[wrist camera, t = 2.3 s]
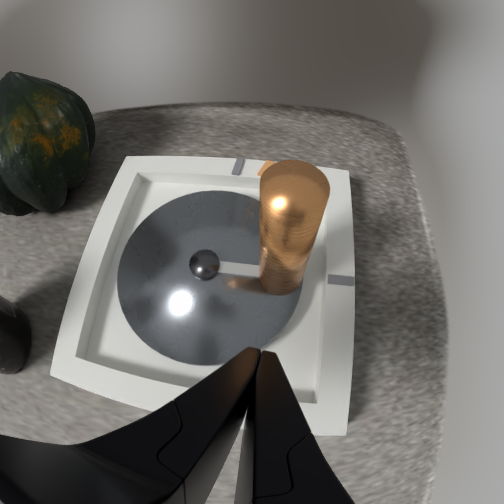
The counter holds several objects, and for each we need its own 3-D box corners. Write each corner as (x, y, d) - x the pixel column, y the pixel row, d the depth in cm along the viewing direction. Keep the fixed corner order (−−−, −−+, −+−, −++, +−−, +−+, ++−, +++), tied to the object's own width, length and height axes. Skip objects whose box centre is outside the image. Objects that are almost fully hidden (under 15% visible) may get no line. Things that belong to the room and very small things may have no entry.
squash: (-9, 255, 17) (3, 65, 11) (-38, 201, 21) (-26, 74, 15) (108, 221, 29) (137, 81, 23) (50, 183, 34) (68, 77, 28)
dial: (292, 378, 17) (329, 360, 8) (103, 344, 18) (7, 295, 9) (305, 206, 23) (326, 100, 14) (150, 193, 24) (110, 99, 15)
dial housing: (335, 431, 17) (346, 435, 14) (67, 378, 18) (48, 374, 16) (342, 188, 26) (349, 169, 23) (134, 172, 27) (125, 154, 25)
